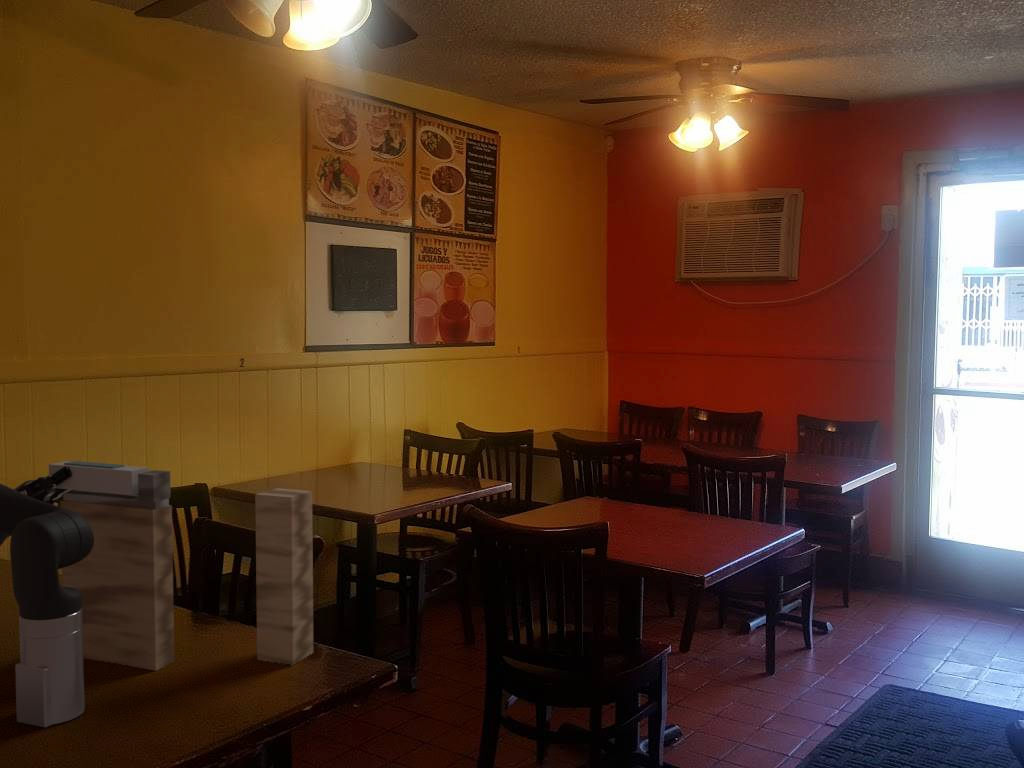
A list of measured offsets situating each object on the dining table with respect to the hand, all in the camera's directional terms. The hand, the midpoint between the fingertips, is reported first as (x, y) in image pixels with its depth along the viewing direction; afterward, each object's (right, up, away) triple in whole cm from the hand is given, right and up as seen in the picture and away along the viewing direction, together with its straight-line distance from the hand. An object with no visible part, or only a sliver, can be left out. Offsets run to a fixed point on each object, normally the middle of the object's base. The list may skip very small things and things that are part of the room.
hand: (79, 468), depth 180 cm
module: (+4, -4, -1) cm, 6 cm away
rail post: (+8, -36, -1) cm, 37 cm away
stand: (+39, -36, +1) cm, 53 cm away
